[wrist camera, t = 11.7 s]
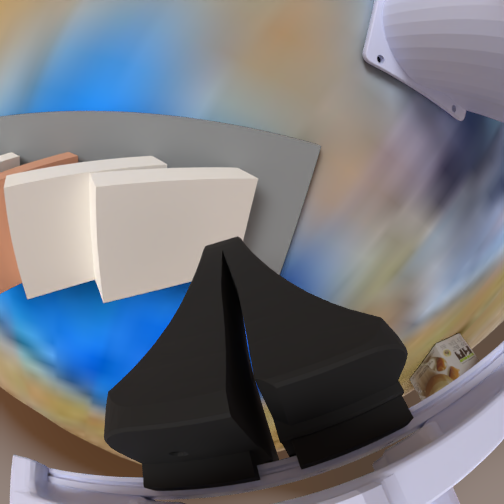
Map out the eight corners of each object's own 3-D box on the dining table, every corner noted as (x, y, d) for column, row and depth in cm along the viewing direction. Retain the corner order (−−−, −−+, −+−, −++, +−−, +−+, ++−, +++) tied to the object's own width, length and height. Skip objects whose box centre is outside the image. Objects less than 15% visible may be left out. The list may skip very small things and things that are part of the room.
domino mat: (317, 144, 14) (321, 146, 13) (273, 281, 18) (275, 286, 18) (-40, 123, 7) (-44, 125, 7) (-25, 250, 12) (-29, 253, 11)
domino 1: (77, 155, 10) (-59, 205, 5) (90, 251, 13) (-22, 305, 8) (68, 151, 11) (-54, 195, 6) (79, 240, 13) (-24, 287, 8)
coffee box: (433, 343, 31) (489, 430, 17) (459, 331, 32) (512, 408, 18) (407, 380, 36) (450, 457, 22) (434, 368, 37) (475, 437, 23)
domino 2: (167, 164, 11) (3, 187, 6) (158, 261, 14) (27, 299, 9) (152, 155, 12) (6, 175, 7) (145, 246, 14) (24, 278, 10)
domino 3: (258, 178, 12) (95, 186, 8) (236, 270, 15) (103, 302, 10) (237, 167, 13) (89, 173, 9) (219, 254, 16) (95, 280, 11)
